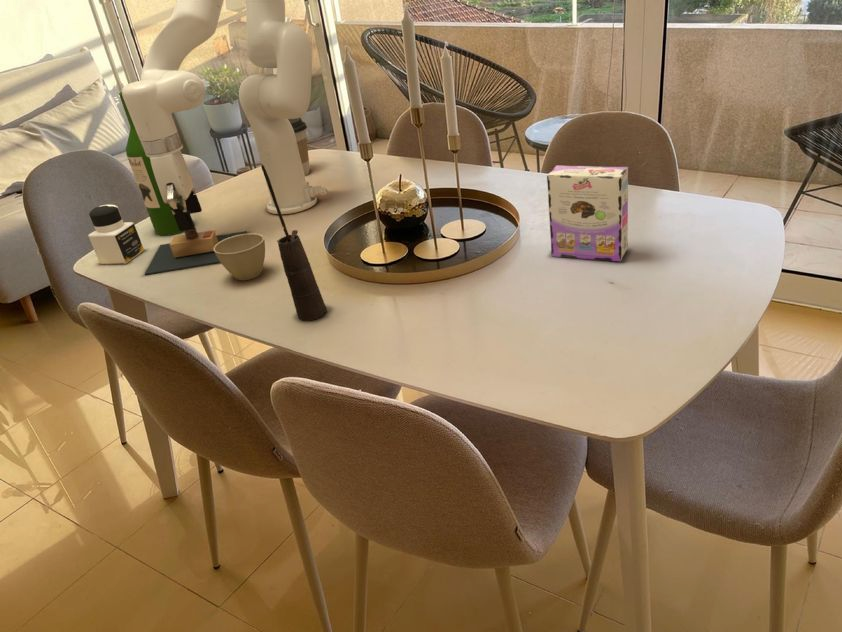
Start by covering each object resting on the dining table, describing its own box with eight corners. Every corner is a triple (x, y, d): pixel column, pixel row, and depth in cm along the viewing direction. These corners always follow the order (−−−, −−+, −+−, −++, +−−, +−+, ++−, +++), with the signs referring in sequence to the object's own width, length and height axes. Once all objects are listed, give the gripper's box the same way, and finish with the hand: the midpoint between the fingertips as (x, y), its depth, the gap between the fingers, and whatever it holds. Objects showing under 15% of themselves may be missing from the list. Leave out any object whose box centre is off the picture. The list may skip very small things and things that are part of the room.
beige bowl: (282, 265, 145) (273, 233, 141) (255, 287, 137) (245, 254, 133) (242, 263, 148) (232, 232, 144) (213, 284, 140) (202, 252, 136)
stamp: (174, 259, 153) (166, 237, 150) (179, 250, 157) (171, 228, 154) (215, 252, 154) (208, 230, 151) (219, 243, 158) (212, 222, 155)
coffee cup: (271, 181, 195) (256, 128, 187) (286, 168, 205) (273, 116, 197) (308, 179, 193) (295, 125, 185) (322, 166, 202) (310, 113, 194)
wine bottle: (147, 234, 169) (95, 97, 152) (173, 220, 176) (125, 87, 159) (175, 236, 166) (125, 96, 149) (200, 222, 173) (155, 86, 156)
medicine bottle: (126, 264, 155) (105, 213, 149) (99, 264, 157) (77, 214, 150) (145, 250, 161) (125, 201, 154) (118, 250, 162) (98, 202, 156)
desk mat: (247, 232, 163) (246, 230, 163) (239, 259, 150) (238, 258, 150) (160, 246, 162) (160, 244, 162) (145, 275, 148) (144, 273, 148)
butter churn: (310, 295, 131) (272, 148, 117) (350, 303, 127) (315, 151, 112) (277, 318, 125) (232, 165, 110) (317, 327, 120) (275, 169, 106)
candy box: (628, 250, 133) (630, 165, 124) (620, 263, 128) (621, 176, 120) (559, 244, 138) (556, 163, 130) (550, 256, 134) (545, 173, 125)
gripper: (152, 135, 150) (181, 209, 160) (134, 160, 136) (166, 240, 145) (187, 129, 150) (213, 203, 160) (172, 153, 136) (202, 233, 146)
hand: (191, 220), depth 153 cm, fingers open, 9 cm apart
